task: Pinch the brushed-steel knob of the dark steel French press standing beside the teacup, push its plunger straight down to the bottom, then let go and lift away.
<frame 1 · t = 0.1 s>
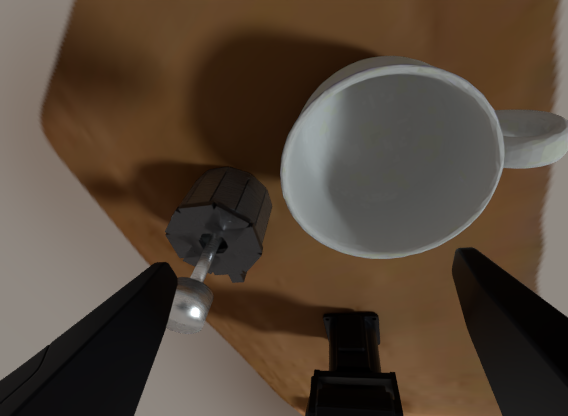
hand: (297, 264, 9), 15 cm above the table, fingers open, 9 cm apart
teacup: (391, 123, 21), on the table
plunger: (201, 268, 20), point 8 cm above the table, slide at 0.0 cm
octagonal grey mug: (232, 201, 27), on the table
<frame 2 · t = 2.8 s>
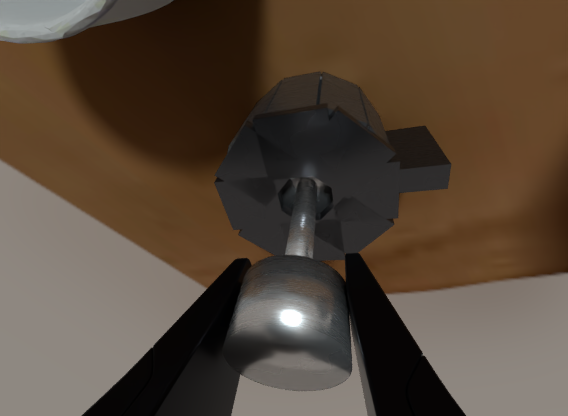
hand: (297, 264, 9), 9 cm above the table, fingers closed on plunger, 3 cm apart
plunger: (300, 243, 10), point 8 cm above the table, slide at 0.0 cm, touching gripper
octagonal grey mug: (312, 143, 16), on the table
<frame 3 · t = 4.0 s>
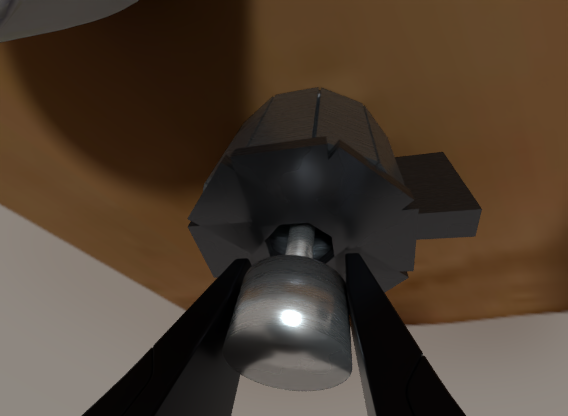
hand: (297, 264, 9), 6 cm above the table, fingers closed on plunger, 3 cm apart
plunger: (300, 243, 10), point 5 cm above the table, slide at 2.8 cm, touching gripper
octagonal grey mug: (309, 167, 14), on the table
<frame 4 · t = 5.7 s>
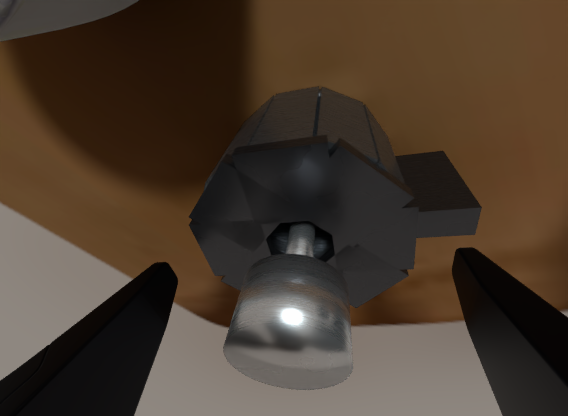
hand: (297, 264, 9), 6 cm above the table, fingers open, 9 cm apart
plunger: (301, 242, 10), point 5 cm above the table, slide at 2.7 cm
octagonal grey mug: (310, 166, 14), on the table
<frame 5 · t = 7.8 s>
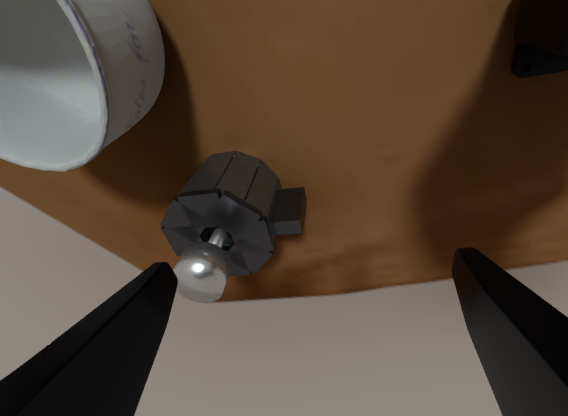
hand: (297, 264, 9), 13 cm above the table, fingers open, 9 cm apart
plunger: (218, 237, 19), point 5 cm above the table, slide at 2.7 cm
octagonal grey mug: (238, 192, 23), on the table
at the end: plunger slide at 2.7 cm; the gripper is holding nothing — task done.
